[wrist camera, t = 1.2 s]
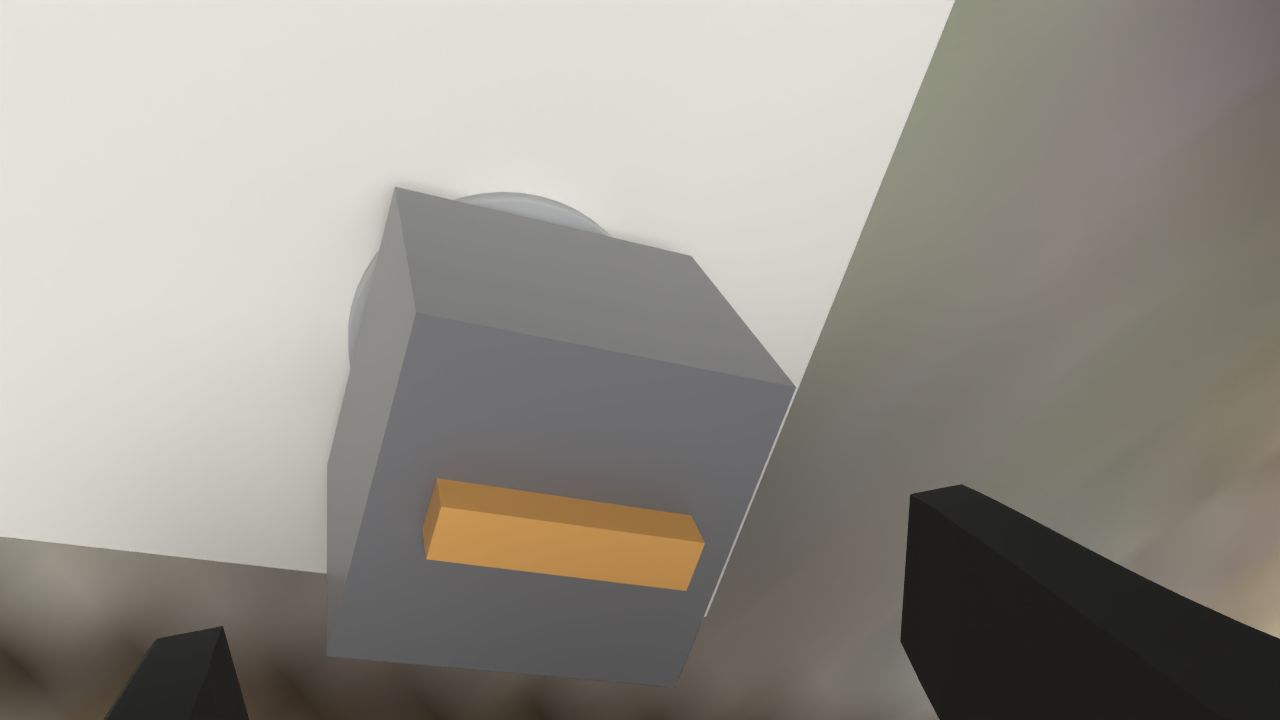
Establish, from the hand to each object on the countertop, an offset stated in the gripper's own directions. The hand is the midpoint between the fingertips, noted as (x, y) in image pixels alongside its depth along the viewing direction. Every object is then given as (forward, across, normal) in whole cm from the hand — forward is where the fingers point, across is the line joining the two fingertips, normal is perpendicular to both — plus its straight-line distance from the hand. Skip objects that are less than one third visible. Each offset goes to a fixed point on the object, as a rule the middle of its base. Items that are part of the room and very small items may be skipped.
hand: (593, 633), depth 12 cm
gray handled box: (+7, 0, 0) cm, 7 cm away
